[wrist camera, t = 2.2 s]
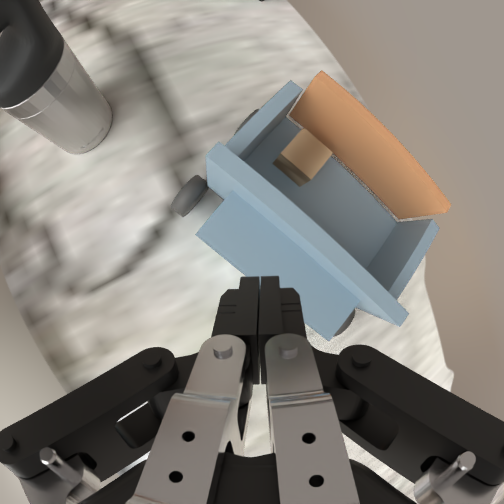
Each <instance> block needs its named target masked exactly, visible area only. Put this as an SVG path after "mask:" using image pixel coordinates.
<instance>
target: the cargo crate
mask: <svg viewBox="0 0 504 504" xmlns="http://www.w3.org/2000/svg"><path fill="white" fill-rule="evenodd" d="M332 154H333V152H332V151H330V150H329V149H328V148H327V147H326V146H325V145H324V144H323V143H322V142H320V141H319V140H318V139H317V138H316V137H315V136H314V135H312V134H311V133H310V132H309V131H308V130H306V129H305V128H303V129H302V130H301V131H300V132H299V133H298V134H297V136H296V137H295V138H294V139H293V140H292V141H291V142H290V143H289V144H288V146H287V147H286V148H285V149H284V150H283V151H282V152H281V153H280V155H279V156H278V157H277V158H276V160H275V161H274V162H273V163H272V164H273V165H275V166H276V167H277V168H278V169H279V170H281V171H282V172H283V173H284V174H285V175H286V176H288V177H289V178H290V179H291V180H292V181H293V182H295V183H296V184H297V185H298V186H299V187H300V186H302V185H304V184H305V183H307V182H308V181H310V180H312V178H313V177H314V176H315V175H316V173H317V172H318V171H319V170H320V168H321V167H322V166H323V165H324V164H325V162H326V161H327V160H328V159H329V157H330V156H331V155H332Z"/></svg>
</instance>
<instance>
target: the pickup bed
mask: <svg viewBox="0 0 504 504" xmlns="http://www.w3.org/2000/svg"><path fill="white" fill-rule="evenodd" d="M302 90H303V89H301V88H300V87H299V86H298V85H296V84H295V83H294V82H292V81H291V80H290V81H289V82H288V83H287V84H286V85H285V86H284V87H283V88H282V89H281V90H280V91H279V92H277V93H276V94H275V95H274V96H273V97H272V98H271V99H270V100H269V101H268V102H267V103H266V104H265V105H264V106H263V107H262V108H261V109H260V110H259V109H257V110H255V111H254V112H253V113H251V114H250V115H249V116H248V117H247V118H246V119H245V121H244V122H243V123H242V124H241V125H240V127H239V128H238V130H237V131H236V133H235V134H234V136H233V137H232V138H231V139H230V141H229V142H228V143H227V144H226V145H225V146H224V145H223V144H221V143H220V142H218V143H217V144H216V145H215V146H214V147H213V148H212V149H211V150H210V151H209V152H208V154H207V155H206V171H207V182H206V181H205V180H204V179H202V178H201V177H200V176H199V175H196V176H194V177H193V178H192V179H190V180H189V181H188V182H187V183H186V184H185V185H184V187H183V188H182V189H181V190H180V191H179V193H178V194H177V196H176V197H175V199H174V200H173V202H172V204H171V208H172V209H174V210H175V211H176V212H177V213H178V214H180V215H181V216H182V217H184V216H186V215H187V214H188V213H189V212H190V211H191V210H192V209H193V208H194V207H195V205H196V204H197V203H198V202H199V201H200V199H201V198H202V197H203V195H204V194H205V193H206V191H207V190H208V188H211V189H212V190H213V191H214V192H215V193H217V195H218V196H220V197H221V198H222V199H223V200H224V201H223V202H222V203H221V204H220V205H219V207H218V208H217V209H216V210H215V211H214V213H213V214H212V215H211V216H210V217H209V219H208V220H207V221H206V222H205V223H204V225H203V226H202V227H201V228H200V230H199V231H198V232H197V233H196V234H195V235H196V236H198V237H199V238H200V239H201V240H202V241H204V242H205V243H206V244H207V245H208V246H210V247H211V248H212V249H213V250H215V251H216V252H217V253H218V254H219V255H221V256H222V257H223V258H224V259H226V260H227V261H228V262H229V263H231V264H232V265H233V266H234V267H235V268H237V269H238V270H239V271H240V272H242V273H243V274H244V275H245V276H247V277H252V276H259V278H260V284H261V276H279V281H280V288H294V289H295V290H296V291H297V292H298V294H299V295H300V301H301V306H302V312H303V318H304V323H306V324H307V325H308V326H310V327H311V328H312V329H313V330H315V331H316V332H317V333H319V334H320V335H321V336H322V337H324V338H325V339H326V340H328V341H330V340H331V338H332V337H334V336H337V335H339V334H341V333H342V332H343V331H345V330H346V329H347V328H348V326H349V325H350V324H351V322H352V320H353V318H354V315H355V307H356V308H358V309H360V310H363V311H365V312H367V313H369V314H372V315H374V316H376V317H379V318H381V319H383V320H385V321H388V322H390V323H392V324H395V325H397V326H399V327H400V326H401V325H402V323H403V322H404V320H405V319H406V317H407V316H408V314H409V313H408V312H407V311H406V310H405V309H404V308H403V307H402V306H401V305H400V304H399V303H398V302H397V299H398V297H399V296H400V294H401V293H402V291H403V290H404V288H405V287H406V285H407V283H408V282H409V280H410V279H411V277H412V275H413V274H414V272H415V271H416V269H417V267H418V266H419V264H420V262H421V261H422V259H423V257H424V255H425V254H426V252H427V250H428V248H429V247H430V245H431V243H432V241H433V239H434V238H435V236H436V234H437V232H438V230H439V227H438V226H437V224H436V223H435V222H434V221H433V219H427V220H416V221H406V222H396V221H395V219H394V218H393V217H392V216H391V215H390V214H389V213H388V212H387V211H386V210H385V209H384V208H383V206H382V205H381V204H380V203H379V202H378V201H377V200H376V199H375V198H374V197H373V196H372V195H371V194H370V193H369V192H368V191H367V190H366V189H365V188H364V187H363V186H362V185H361V184H360V183H359V182H358V181H357V180H356V179H355V178H354V177H353V176H352V175H351V174H350V173H349V172H348V171H347V170H346V169H345V168H344V167H343V166H341V165H340V164H339V163H338V162H337V161H336V160H335V159H334V158H333V157H332V156H330V157H329V159H328V160H327V161H326V162H325V164H324V165H323V166H322V167H321V168H320V170H319V171H318V172H317V173H316V175H315V176H314V177H313V178H312V180H310V181H308V182H307V183H305V184H304V185H302V186H300V187H299V186H298V185H297V184H296V183H295V182H293V181H292V180H291V179H290V178H289V177H288V176H286V175H285V174H284V173H283V172H282V171H281V170H279V169H278V168H277V167H276V166H275V165H273V164H272V163H273V162H274V161H275V160H276V158H277V157H278V156H279V155H280V153H281V152H282V151H283V150H284V149H285V148H286V147H287V146H288V144H289V143H290V142H291V141H292V140H293V139H294V138H295V137H296V136H297V134H298V133H299V132H300V131H301V129H300V128H298V127H297V126H296V125H295V124H294V123H292V122H291V121H290V120H289V119H287V118H286V115H287V114H288V112H289V111H290V109H291V107H292V106H293V104H294V103H295V101H296V99H297V98H298V96H299V95H300V93H301V92H302Z"/></svg>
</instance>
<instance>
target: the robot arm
mask: <svg viewBox="0 0 504 504" xmlns="http://www.w3.org/2000/svg"><path fill="white" fill-rule="evenodd" d="M2 31H3V32H2ZM1 32H2V35H1V37H0V108H1V109H3V110H4V111H6V112H7V113H9V114H10V115H12V116H13V117H15V118H16V119H18V120H19V121H21V122H22V123H24V124H25V125H27V126H28V127H30V128H31V129H33V130H34V131H36V132H37V133H39V134H41V135H42V136H44V137H45V138H47V139H48V140H50V141H51V142H53V143H54V144H56V145H57V146H59V147H60V148H62V149H63V150H65V151H67V152H69V153H72V154H81V153H85V152H88V151H89V150H91V149H93V148H94V147H96V146H97V145H98V144H99V143H100V142H101V141H102V140H103V139H104V137H105V136H106V135H107V133H108V131H109V129H110V126H111V122H112V110H111V108H110V105H109V104H108V102H107V101H106V100H105V98H104V97H103V95H102V94H101V92H100V91H99V89H98V88H97V87H96V85H95V84H94V82H93V81H92V79H91V78H90V76H89V75H88V74H87V72H86V71H85V69H84V68H83V66H82V65H81V63H80V62H79V60H78V59H77V58H76V56H75V55H74V53H73V52H72V50H71V49H70V47H69V46H68V44H67V43H66V42H65V40H64V39H63V37H62V36H61V34H60V33H59V31H58V30H57V28H56V27H55V26H54V24H53V23H52V21H51V20H50V18H49V17H48V15H47V14H46V12H45V11H44V9H43V7H42V6H41V4H40V2H39V0H0V33H1ZM260 368H261V384H266V392H267V410H268V422H269V433H270V445H271V454H267V455H262V456H257V457H244V445H245V439H246V433H247V427H248V420H249V414H250V408H251V397H252V390H253V384H260ZM146 401H148V403H147V404H145V405H144V406H142V407H141V408H139V409H138V410H136V411H135V412H133V413H132V414H130V415H128V416H127V417H125V418H124V419H122V420H121V421H119V422H117V421H118V420H119V419H120V418H122V417H123V416H125V415H126V414H128V413H129V412H131V411H133V410H134V409H136V408H137V407H139V406H140V405H142V404H143V403H145V402H146ZM342 433H343V434H345V435H346V436H347V437H349V438H350V439H351V440H353V441H354V442H355V443H357V444H358V445H359V446H361V447H362V448H363V449H365V450H366V451H367V452H369V453H370V454H372V455H373V456H374V457H376V458H377V459H379V460H380V461H381V462H383V463H384V464H386V465H387V466H389V467H390V468H392V469H393V470H394V471H396V472H397V473H399V474H400V475H402V476H403V477H405V478H406V479H408V480H409V481H411V482H413V483H414V484H415V486H414V496H415V499H416V501H417V502H418V503H419V504H490V503H491V501H492V499H493V498H494V496H495V494H496V492H497V490H498V488H499V486H500V485H501V483H502V482H504V422H503V421H501V420H500V419H498V418H496V417H494V416H492V415H490V414H489V413H486V412H485V411H483V410H481V409H480V408H478V407H476V406H474V405H472V404H470V403H469V402H467V401H465V400H463V399H462V398H459V397H458V396H456V395H454V394H452V393H451V392H449V391H447V390H446V389H444V388H442V387H440V386H438V385H437V384H435V383H433V382H431V381H430V380H428V379H426V378H424V377H423V376H421V375H419V374H417V373H416V372H414V371H412V370H410V369H409V368H407V367H405V366H404V365H402V364H400V363H398V362H397V361H395V360H393V359H392V358H390V357H388V356H386V355H385V354H383V353H381V352H380V351H378V350H376V349H374V348H372V347H370V346H367V345H352V346H349V347H346V348H345V349H343V350H342V351H341V352H340V354H339V355H336V354H330V353H325V352H322V351H319V350H317V349H315V348H314V347H313V346H311V344H310V342H309V341H308V340H307V337H306V331H305V324H304V318H303V312H302V306H301V301H300V295H299V294H298V292H297V291H296V290H295V289H294V288H280V281H279V276H261V284H260V278H259V276H252V277H241V279H240V285H239V289H228V290H227V291H226V292H225V293H224V294H223V295H222V296H221V298H220V302H219V307H218V311H217V315H216V319H215V323H214V327H213V332H212V336H211V338H209V339H208V340H206V341H205V342H204V343H203V344H202V346H201V348H200V350H199V352H197V353H195V354H192V355H188V356H183V357H178V358H175V357H174V355H173V353H172V352H171V351H169V350H168V349H165V348H162V347H153V348H148V349H145V350H143V351H141V352H139V353H138V354H136V355H134V356H133V357H131V358H129V359H128V360H126V361H124V362H122V363H121V364H119V365H117V366H116V367H114V368H112V369H110V370H109V371H107V372H105V373H104V374H102V375H100V376H98V377H97V378H95V379H93V380H92V381H90V382H88V383H86V384H85V385H83V386H81V387H79V388H78V389H76V390H74V391H72V392H70V393H69V394H67V395H65V396H63V397H62V398H60V399H58V400H56V401H54V402H53V403H51V404H49V405H47V406H46V407H44V408H42V409H40V410H38V411H36V412H34V413H33V414H31V415H29V416H27V417H26V418H23V419H22V420H20V421H18V422H16V423H14V424H12V425H10V426H8V427H7V428H5V429H3V430H2V431H0V462H1V463H2V464H3V465H5V466H6V467H7V468H8V469H9V470H10V471H12V472H13V473H14V474H15V475H16V476H17V477H18V478H19V480H20V482H21V485H22V487H23V489H24V492H25V494H26V496H27V498H28V500H29V502H30V504H417V503H415V502H414V501H413V500H411V499H410V498H408V497H407V496H406V495H404V494H403V493H401V492H400V491H399V490H397V489H396V488H395V487H393V486H392V485H391V484H389V483H388V482H387V481H385V480H384V479H383V478H381V477H380V476H379V475H377V474H376V473H375V472H374V471H372V470H371V469H369V468H368V467H366V466H365V465H363V464H361V463H359V462H357V461H355V460H352V459H349V458H348V454H347V450H346V447H345V443H344V439H343V435H342ZM150 450H151V451H150ZM149 451H150V453H149V456H148V459H147V460H144V461H142V462H140V463H139V464H137V465H135V466H134V467H133V468H131V469H130V470H128V471H127V472H125V473H124V474H122V475H121V476H120V477H118V478H117V479H115V480H114V481H112V482H111V483H109V484H108V485H106V486H105V487H103V488H101V489H100V487H101V482H102V481H104V480H106V479H107V478H109V477H111V476H112V475H114V474H115V473H117V472H119V471H120V470H122V469H123V468H125V467H126V466H128V465H130V464H131V463H133V462H134V461H136V460H137V459H139V458H140V457H142V456H143V455H145V454H146V453H148V452H149Z"/></svg>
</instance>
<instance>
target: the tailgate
mask: <svg viewBox="0 0 504 504" xmlns="http://www.w3.org/2000/svg"><path fill="white" fill-rule="evenodd" d="M289 116H291V117H292V118H293V119H294V120H295V121H297V122H298V123H299V124H300V125H301V126H303V127H304V128H305V129H306V130H308V131H309V132H310V133H311V134H312V135H314V136H315V137H316V138H317V139H318V140H319V141H320V142H322V143H323V144H324V145H325V146H326V147H327V148H328V149H329V150H330V151H332V152H333V153H334V154H335V155H336V156H337V157H338V158H339V159H340V160H341V161H342V162H343V163H344V164H345V165H346V166H347V167H349V168H350V169H351V170H352V171H353V172H354V173H355V174H356V175H357V176H358V177H359V178H360V179H361V180H362V181H363V182H364V183H365V184H366V185H367V186H368V187H369V188H370V189H371V190H372V191H373V192H374V193H375V194H376V195H377V196H378V197H379V199H380V200H381V201H382V202H383V203H384V204H385V205H386V206H387V207H388V208H389V209H390V210H391V211H392V212H393V214H394V215H395V216H396V217H397V218H398V219H405V218H412V217H419V216H426V215H433V214H441V213H447V212H448V210H449V208H450V206H451V204H450V202H449V201H448V199H447V198H446V197H445V196H444V194H443V193H442V191H441V190H440V189H439V188H438V186H437V185H436V184H435V182H434V181H433V180H432V179H431V177H430V176H429V175H428V174H427V173H426V171H425V170H424V169H423V168H422V167H421V165H420V164H419V163H418V162H417V161H416V160H415V158H414V157H413V156H412V155H411V154H410V153H409V152H408V150H407V149H406V148H405V147H404V146H403V145H402V144H401V143H400V142H399V141H398V140H397V138H396V137H395V136H394V135H393V134H392V133H391V132H390V131H389V130H388V129H387V128H386V127H385V126H384V125H383V124H382V123H381V122H380V121H379V120H378V119H377V118H376V117H375V116H374V115H373V114H372V113H371V112H370V111H369V110H367V109H366V108H365V107H364V106H363V105H362V104H361V103H360V102H359V101H358V100H357V99H355V98H354V97H353V96H352V95H351V94H350V93H349V92H348V91H346V90H345V89H344V88H343V87H342V86H340V85H339V84H338V83H337V82H336V81H334V80H333V79H332V78H331V77H330V76H328V75H327V74H326V73H325V72H323V71H320V72H319V73H318V74H317V75H316V76H315V77H314V79H313V80H312V82H311V83H310V85H309V86H308V88H307V89H306V91H305V92H304V94H303V95H302V97H301V98H300V100H299V101H298V103H297V104H296V106H295V107H294V109H293V110H292V112H291V113H290V115H289Z"/></svg>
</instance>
